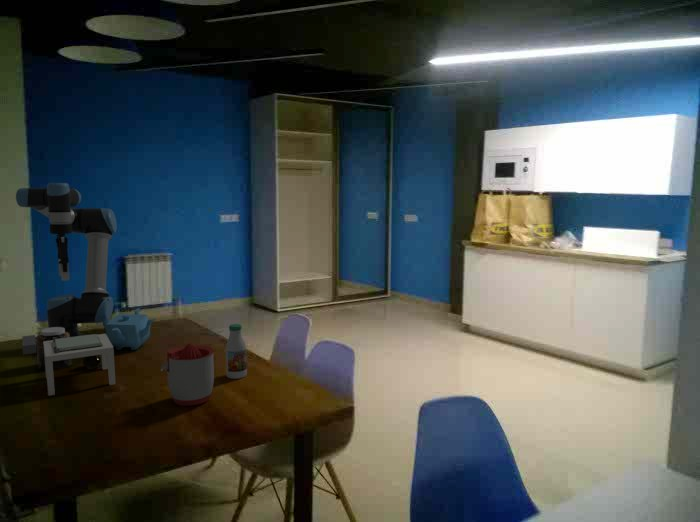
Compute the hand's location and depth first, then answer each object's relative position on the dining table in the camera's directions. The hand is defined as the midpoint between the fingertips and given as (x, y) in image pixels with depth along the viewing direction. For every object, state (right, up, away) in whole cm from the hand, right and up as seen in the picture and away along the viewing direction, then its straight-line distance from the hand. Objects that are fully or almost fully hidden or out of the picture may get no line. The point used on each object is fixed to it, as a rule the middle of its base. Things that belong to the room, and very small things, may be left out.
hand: (64, 277), depth 209 cm
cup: (+9, -33, +12) cm, 36 cm away
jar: (-8, -36, +8) cm, 38 cm away
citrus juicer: (+57, -41, -27) cm, 75 cm away
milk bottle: (+68, -38, -3) cm, 78 cm away
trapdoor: (+6, -24, -13) cm, 28 cm away
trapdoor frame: (+10, -38, -8) cm, 40 cm away
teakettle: (+13, -32, +35) cm, 49 cm away
